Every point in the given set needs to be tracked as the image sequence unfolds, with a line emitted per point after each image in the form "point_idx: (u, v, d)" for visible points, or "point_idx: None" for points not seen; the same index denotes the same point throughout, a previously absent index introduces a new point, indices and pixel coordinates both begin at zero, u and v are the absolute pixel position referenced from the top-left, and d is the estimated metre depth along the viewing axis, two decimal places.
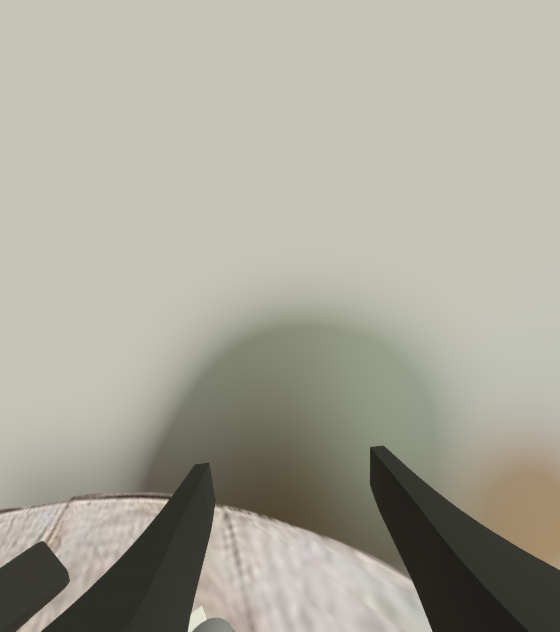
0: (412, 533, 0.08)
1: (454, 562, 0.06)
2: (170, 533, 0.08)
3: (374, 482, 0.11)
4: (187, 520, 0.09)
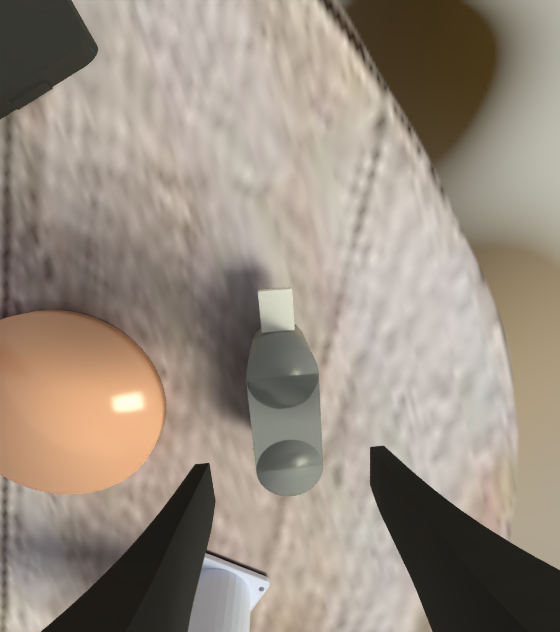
0: (412, 533, 0.08)
1: (454, 562, 0.06)
2: (170, 533, 0.08)
3: (374, 482, 0.11)
4: (187, 520, 0.09)
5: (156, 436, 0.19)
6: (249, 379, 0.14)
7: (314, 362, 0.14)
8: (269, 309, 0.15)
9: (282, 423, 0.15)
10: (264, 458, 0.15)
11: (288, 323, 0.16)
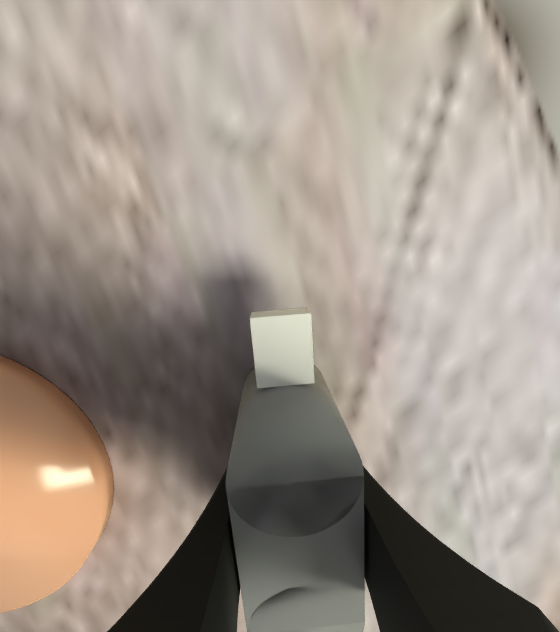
0: (365, 538, 0.08)
1: (392, 568, 0.06)
2: (222, 528, 0.08)
3: None
4: None
5: (95, 533, 0.12)
6: (232, 488, 0.07)
7: (356, 457, 0.07)
8: (270, 349, 0.09)
9: (294, 560, 0.08)
10: (261, 615, 0.09)
11: (303, 372, 0.09)
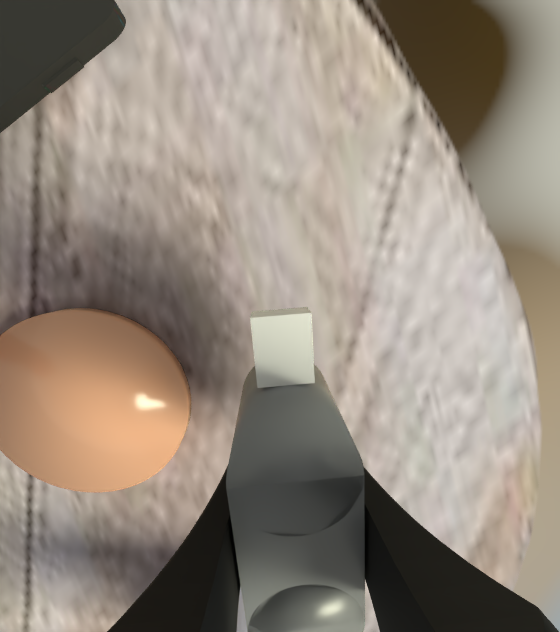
0: (365, 538, 0.08)
1: (392, 568, 0.06)
2: (221, 528, 0.08)
3: None
4: None
5: (182, 434, 0.19)
6: (233, 488, 0.07)
7: (357, 457, 0.07)
8: (271, 348, 0.09)
9: (294, 559, 0.08)
10: (261, 614, 0.09)
11: (304, 372, 0.09)
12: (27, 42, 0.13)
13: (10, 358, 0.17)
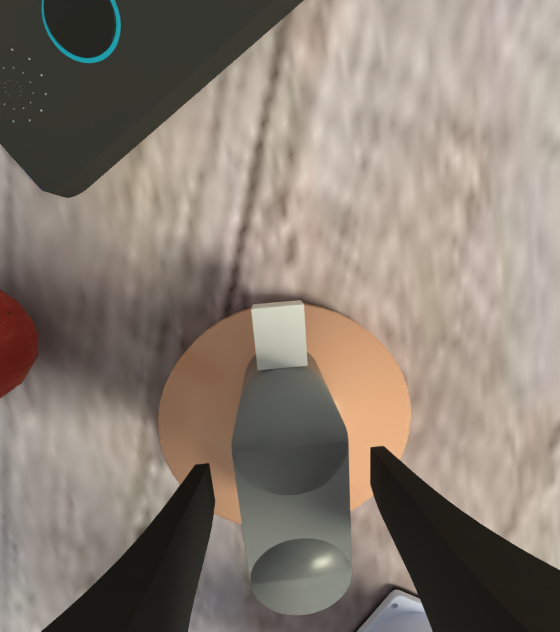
0: (412, 533, 0.08)
1: (454, 562, 0.06)
2: (170, 533, 0.08)
3: (374, 482, 0.11)
4: (187, 520, 0.09)
5: None
6: (237, 452, 0.09)
7: (342, 425, 0.09)
8: (269, 335, 0.10)
9: (290, 515, 0.09)
10: (262, 565, 0.10)
11: (298, 356, 0.10)
12: None
13: (209, 365, 0.13)
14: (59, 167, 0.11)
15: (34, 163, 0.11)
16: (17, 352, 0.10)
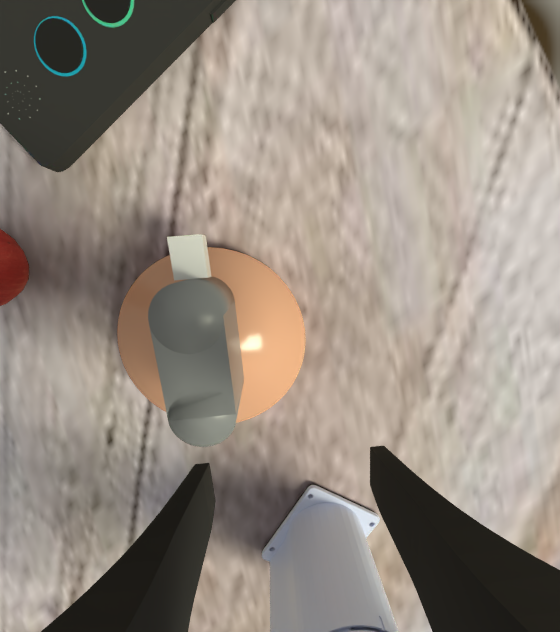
0: (412, 533, 0.08)
1: (454, 562, 0.06)
2: (170, 533, 0.08)
3: (374, 482, 0.11)
4: (187, 520, 0.09)
5: (299, 368, 0.20)
6: (152, 322, 0.14)
7: (217, 304, 0.14)
8: (180, 255, 0.15)
9: (190, 369, 0.15)
10: (175, 406, 0.15)
11: (200, 270, 0.15)
12: None
13: (153, 291, 0.18)
14: (51, 148, 0.16)
15: (34, 146, 0.16)
16: (14, 269, 0.15)
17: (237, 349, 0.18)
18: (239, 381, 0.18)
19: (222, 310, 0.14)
